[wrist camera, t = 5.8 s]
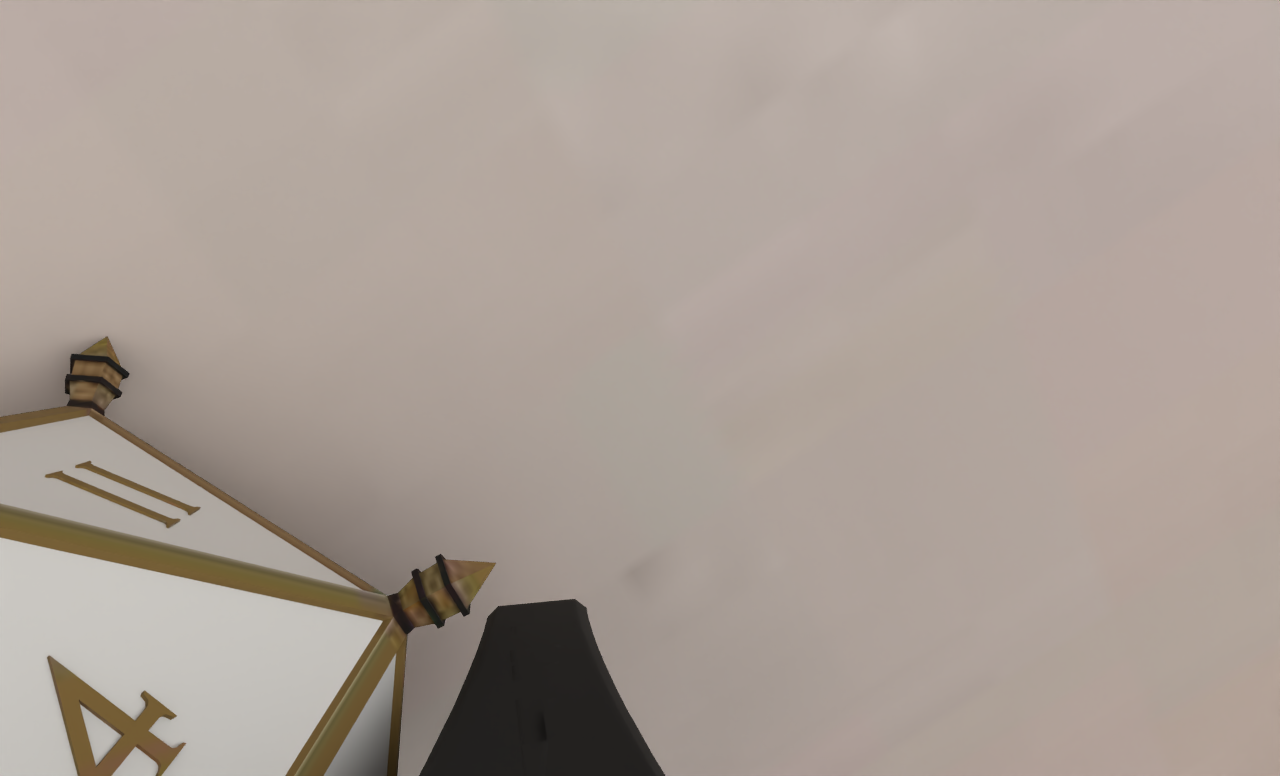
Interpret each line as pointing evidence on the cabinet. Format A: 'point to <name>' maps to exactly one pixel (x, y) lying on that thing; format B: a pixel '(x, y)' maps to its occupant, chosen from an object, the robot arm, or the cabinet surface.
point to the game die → (183, 615)
